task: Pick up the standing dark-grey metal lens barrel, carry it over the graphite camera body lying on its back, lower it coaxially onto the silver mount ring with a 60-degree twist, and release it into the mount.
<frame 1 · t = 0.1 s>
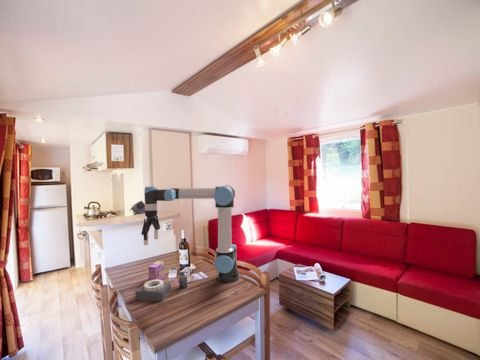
hand: (151, 242, 149), 28 cm above the table, fingers open, 13 cm apart
lens: (183, 287, 145), on the table
box: (156, 281, 154), on the table
camera body: (154, 295, 135), on the table
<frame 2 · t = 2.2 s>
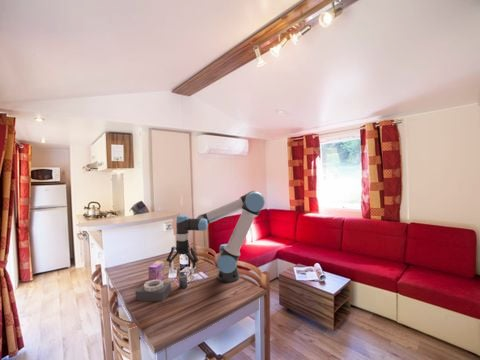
hand: (182, 272, 145), 9 cm above the table, fingers open, 13 cm apart
nothing on the table moved.
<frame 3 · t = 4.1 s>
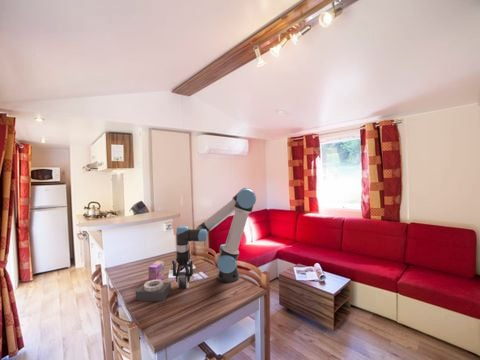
hand: (183, 286, 145), 0 cm above the table, fingers closed on lens, 5 cm apart
lens: (183, 287, 145), on the table, touching gripper
everything else where it was.
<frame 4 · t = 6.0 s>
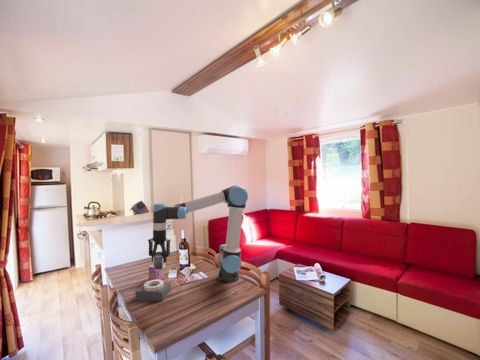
hand: (159, 267, 137), 16 cm above the table, fingers closed on lens, 5 cm apart
lens: (159, 267, 137), point 16 cm above the table, touching gripper
everything else where it was.
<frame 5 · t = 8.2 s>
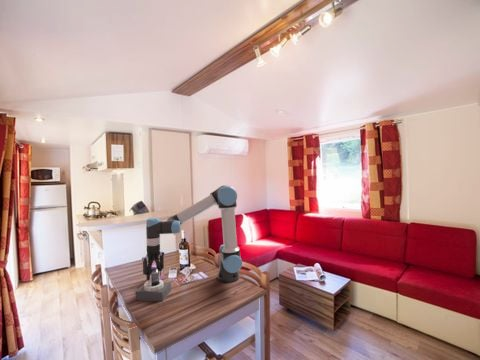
hand: (153, 283, 135), 7 cm above the table, fingers closed on lens, 5 cm apart
lens: (153, 284, 135), point 7 cm above the table, touching gripper
everything else where it was.
when the fingers open (7 cm above the table, at t = 8.3 s): lens drops 2 cm, resting on camera body.
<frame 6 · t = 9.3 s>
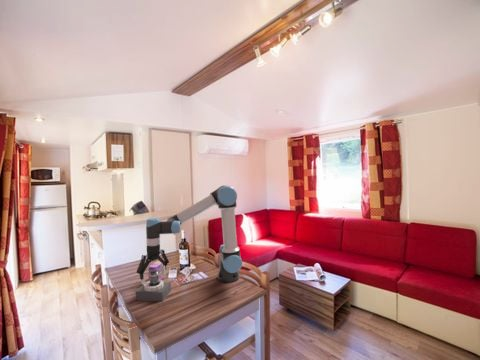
hand: (153, 279, 135), 9 cm above the table, fingers open, 13 cm apart
lens: (154, 286, 135), point 5 cm above the table, touching camera body
everything else where it was.
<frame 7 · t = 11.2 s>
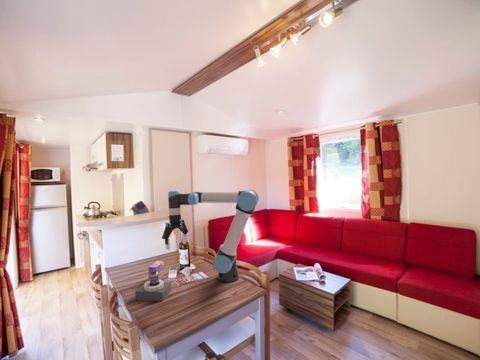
hand: (176, 246, 149), 25 cm above the table, fingers open, 13 cm apart
nothing on the table moved.
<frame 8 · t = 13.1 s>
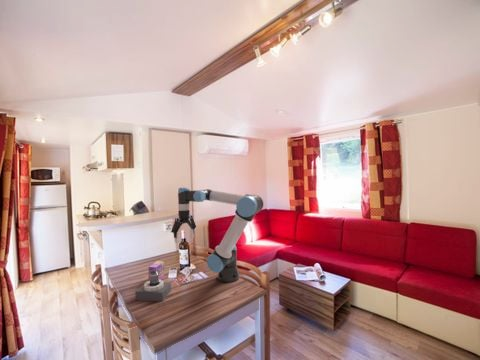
hand: (184, 240, 157), 27 cm above the table, fingers open, 13 cm apart
nothing on the table moved.
at the end: lens 0.2 cm off-centre on the camera body, point 5.0 cm above the camera body's base; lens tilted 1°; the gripper is holding nothing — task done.
